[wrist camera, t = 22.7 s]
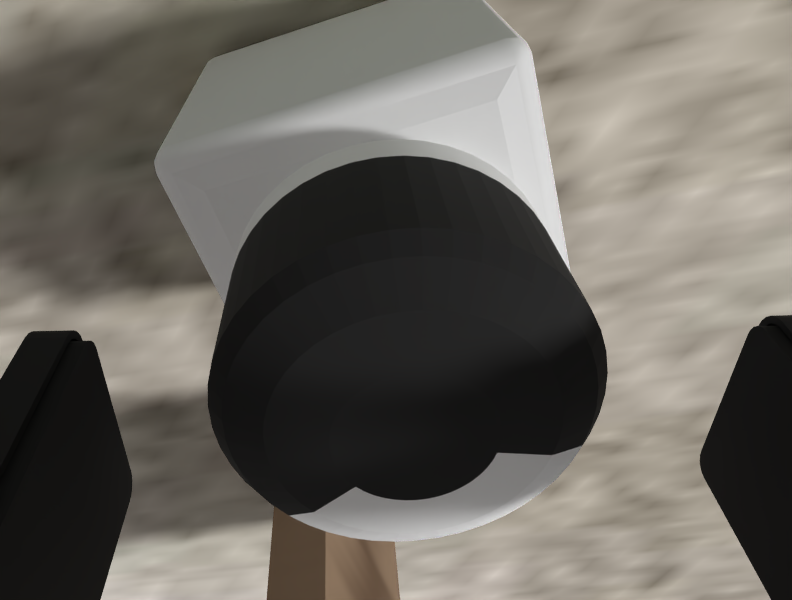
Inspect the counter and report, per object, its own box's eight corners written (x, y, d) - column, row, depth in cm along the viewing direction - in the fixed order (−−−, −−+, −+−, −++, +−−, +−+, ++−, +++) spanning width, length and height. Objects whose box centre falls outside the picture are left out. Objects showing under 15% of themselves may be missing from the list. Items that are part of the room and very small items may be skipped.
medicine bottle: (202, 58, 18) (51, 314, 8) (464, -29, 18) (641, 136, 8) (298, 277, 22) (274, 632, 12) (516, 213, 22) (679, 531, 12)
